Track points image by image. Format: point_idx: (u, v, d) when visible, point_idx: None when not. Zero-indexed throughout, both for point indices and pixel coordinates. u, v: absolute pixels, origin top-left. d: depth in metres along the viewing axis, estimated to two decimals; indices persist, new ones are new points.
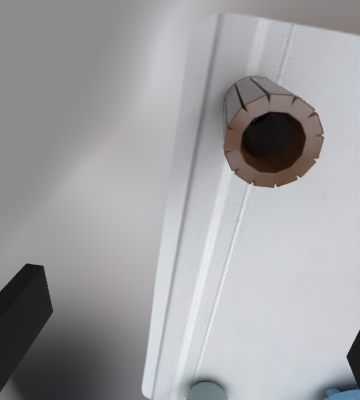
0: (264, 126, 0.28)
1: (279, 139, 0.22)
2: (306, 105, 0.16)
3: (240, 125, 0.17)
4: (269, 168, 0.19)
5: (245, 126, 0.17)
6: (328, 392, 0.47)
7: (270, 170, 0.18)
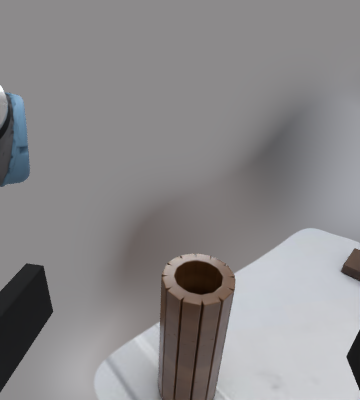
0: None
1: None
2: (188, 254, 0.25)
3: (171, 282, 0.22)
4: None
5: (175, 281, 0.22)
6: None
7: None
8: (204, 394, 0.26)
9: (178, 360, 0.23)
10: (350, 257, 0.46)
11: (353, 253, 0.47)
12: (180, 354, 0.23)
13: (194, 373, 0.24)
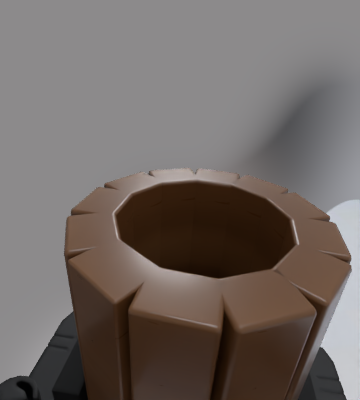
0: None
1: None
2: None
3: (98, 233, 0.05)
4: None
5: (112, 228, 0.06)
6: None
7: None
8: None
9: None
10: None
11: None
12: None
13: None
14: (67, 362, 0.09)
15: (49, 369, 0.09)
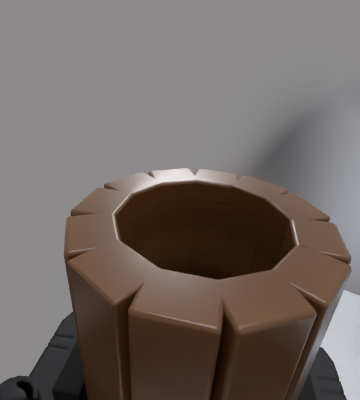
0: None
1: None
2: (172, 169, 0.09)
3: (98, 234, 0.05)
4: None
5: (112, 228, 0.06)
6: None
7: None
8: None
9: None
10: None
11: None
12: None
13: None
14: (67, 362, 0.09)
15: (49, 369, 0.09)
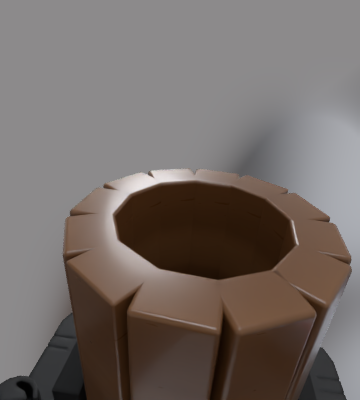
0: None
1: None
2: (172, 169, 0.08)
3: (97, 234, 0.05)
4: None
5: (111, 228, 0.06)
6: None
7: None
8: None
9: None
10: None
11: None
12: None
13: None
14: (67, 362, 0.09)
15: (49, 369, 0.09)
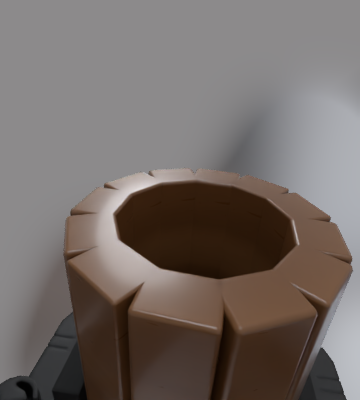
0: None
1: None
2: None
3: (98, 233, 0.05)
4: None
5: (112, 228, 0.06)
6: None
7: None
8: None
9: None
10: None
11: None
12: None
13: None
14: (67, 362, 0.09)
15: (49, 369, 0.09)
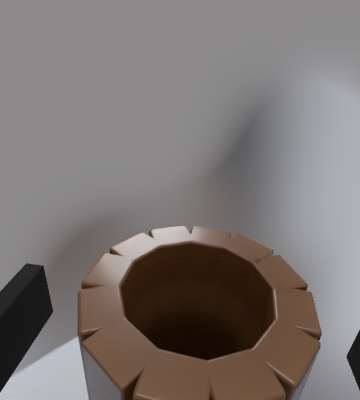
0: None
1: None
2: (170, 227, 0.09)
3: (106, 310, 0.06)
4: None
5: (118, 304, 0.07)
6: None
7: None
8: None
9: None
10: None
11: None
12: None
13: None
14: None
15: None
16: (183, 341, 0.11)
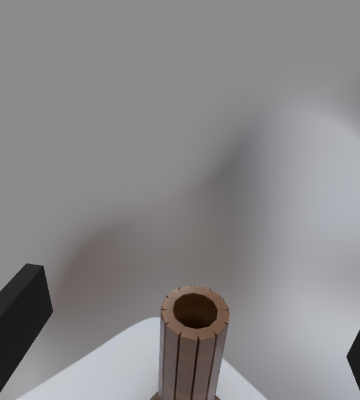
0: None
1: None
2: (185, 286, 0.26)
3: (170, 316, 0.23)
4: None
5: (173, 315, 0.24)
6: None
7: None
8: None
9: (176, 387, 0.25)
10: None
11: None
12: (178, 382, 0.24)
13: (191, 399, 0.25)
14: None
15: None
16: (189, 327, 0.28)
